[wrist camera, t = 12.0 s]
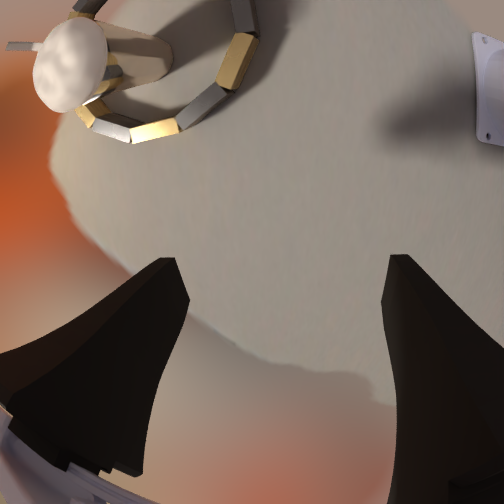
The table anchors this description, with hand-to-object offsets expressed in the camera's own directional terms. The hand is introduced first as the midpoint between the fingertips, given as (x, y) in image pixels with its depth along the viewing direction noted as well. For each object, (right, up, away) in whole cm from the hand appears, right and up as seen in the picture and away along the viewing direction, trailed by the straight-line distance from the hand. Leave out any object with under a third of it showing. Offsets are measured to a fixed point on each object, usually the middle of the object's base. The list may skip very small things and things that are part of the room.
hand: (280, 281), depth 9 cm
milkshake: (-8, +14, +5) cm, 17 cm away
